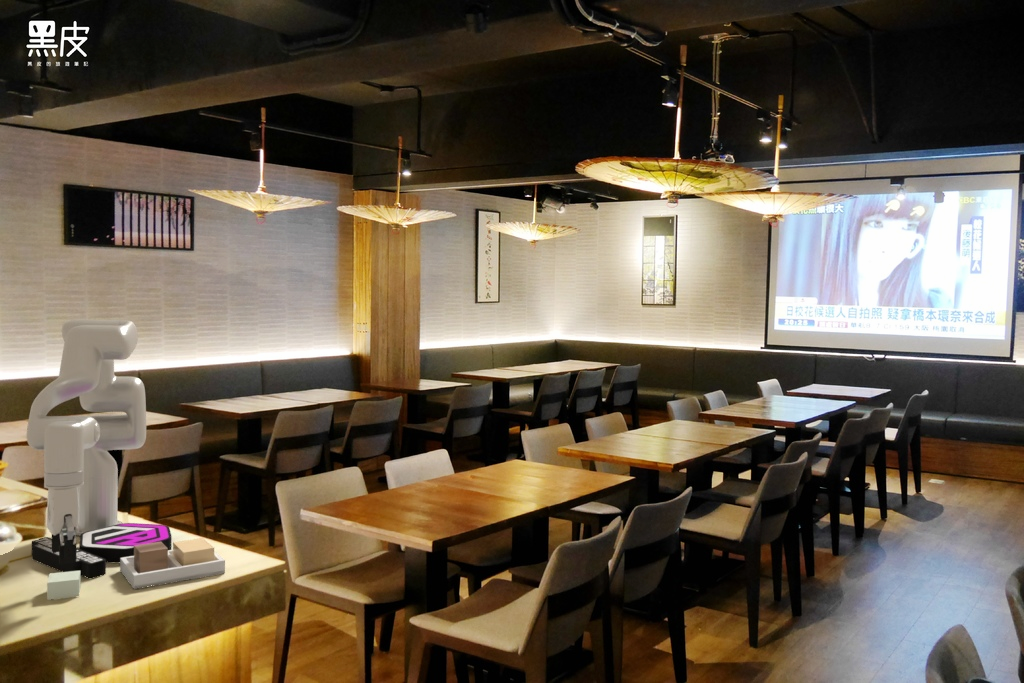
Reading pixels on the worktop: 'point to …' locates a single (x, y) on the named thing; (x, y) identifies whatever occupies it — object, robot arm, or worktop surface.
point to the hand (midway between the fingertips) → (63, 557)
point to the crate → (178, 564)
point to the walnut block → (150, 557)
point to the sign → (102, 547)
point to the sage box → (63, 585)
